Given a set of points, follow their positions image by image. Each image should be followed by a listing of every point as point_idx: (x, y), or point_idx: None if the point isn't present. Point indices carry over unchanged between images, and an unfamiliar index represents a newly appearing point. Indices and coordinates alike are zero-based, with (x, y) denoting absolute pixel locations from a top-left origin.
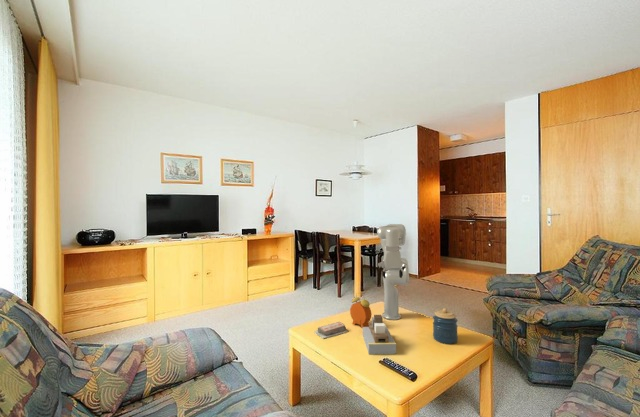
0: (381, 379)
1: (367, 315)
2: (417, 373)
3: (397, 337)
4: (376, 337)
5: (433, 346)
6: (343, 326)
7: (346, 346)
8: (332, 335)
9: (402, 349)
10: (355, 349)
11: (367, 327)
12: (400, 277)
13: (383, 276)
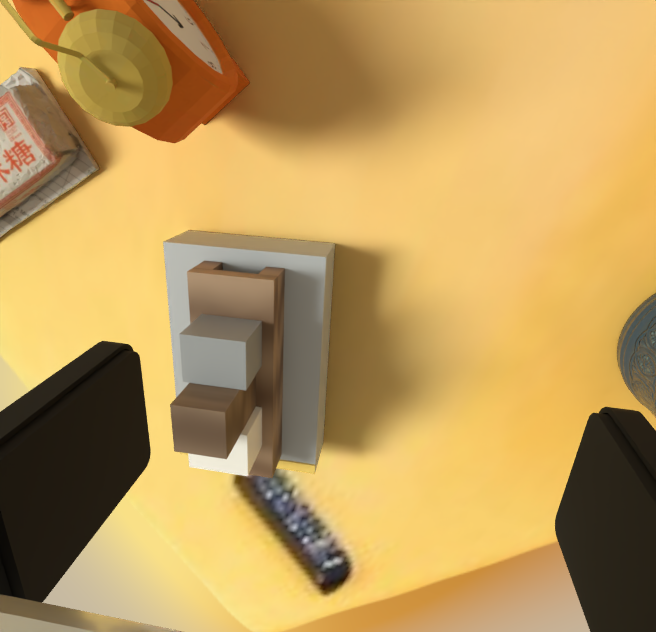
0: (223, 567)
1: (188, 126)
2: (357, 566)
3: (394, 280)
4: None
5: (553, 408)
6: (49, 168)
7: None
8: (16, 224)
9: (368, 410)
10: (144, 376)
11: (194, 253)
12: (557, 524)
13: (101, 350)
